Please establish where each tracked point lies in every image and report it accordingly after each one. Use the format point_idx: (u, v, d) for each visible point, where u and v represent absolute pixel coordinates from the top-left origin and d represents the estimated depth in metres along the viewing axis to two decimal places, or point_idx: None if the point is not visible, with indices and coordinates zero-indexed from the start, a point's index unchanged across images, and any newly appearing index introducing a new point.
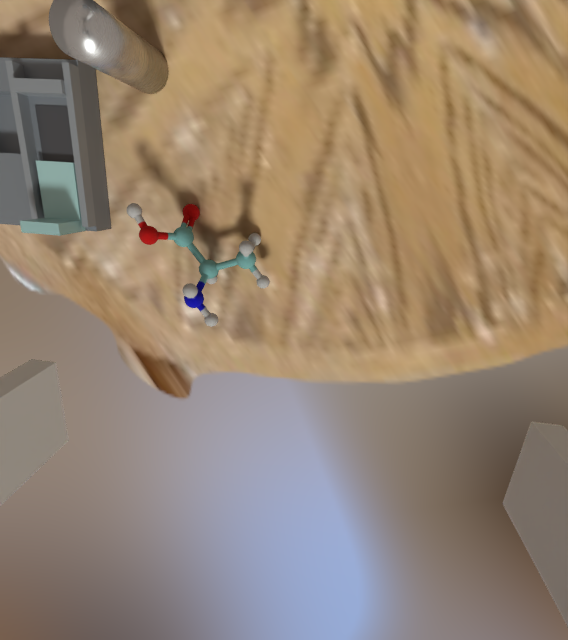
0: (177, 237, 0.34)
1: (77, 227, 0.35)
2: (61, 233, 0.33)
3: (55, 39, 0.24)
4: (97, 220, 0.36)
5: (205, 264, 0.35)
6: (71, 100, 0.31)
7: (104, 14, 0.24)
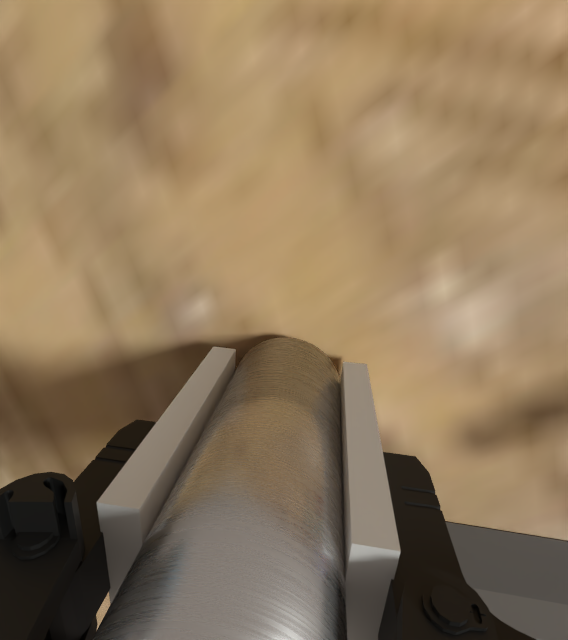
0: None
1: None
2: None
3: None
4: None
5: None
6: None
7: None
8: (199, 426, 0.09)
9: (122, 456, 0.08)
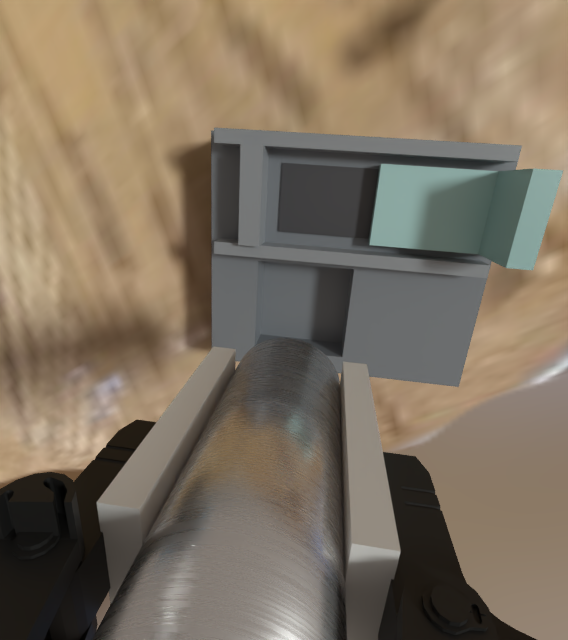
0: None
1: None
2: None
3: None
4: None
5: None
6: (274, 135, 0.16)
7: None
8: (199, 426, 0.09)
9: (122, 456, 0.08)
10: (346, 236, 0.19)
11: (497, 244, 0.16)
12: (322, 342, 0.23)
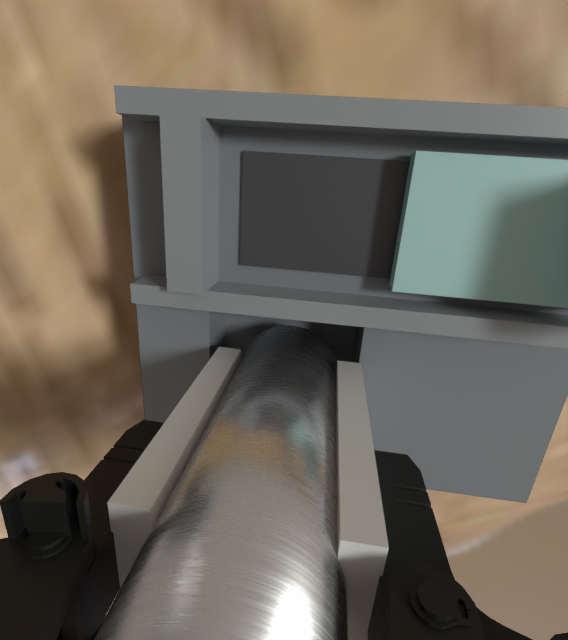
0: None
1: None
2: None
3: None
4: None
5: None
6: (221, 98, 0.09)
7: (153, 597, 0.05)
8: None
9: (130, 456, 0.08)
10: (352, 274, 0.11)
11: None
12: None
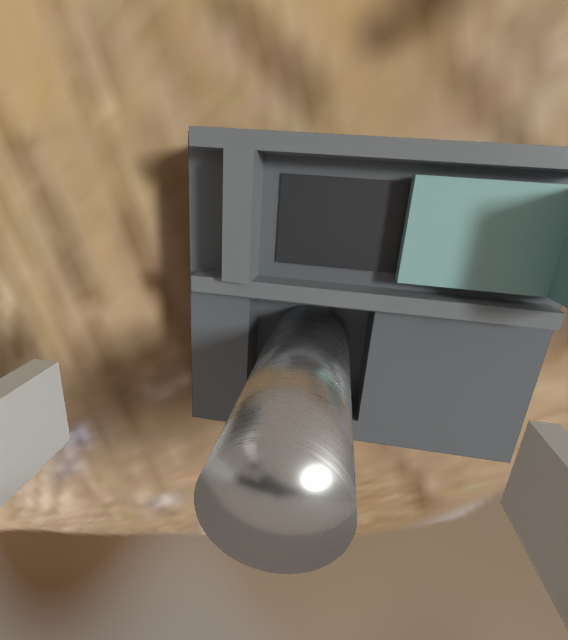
0: None
1: None
2: None
3: (301, 567, 0.09)
4: None
5: None
6: (269, 136, 0.12)
7: (245, 426, 0.08)
8: None
9: None
10: (365, 269, 0.14)
11: None
12: None
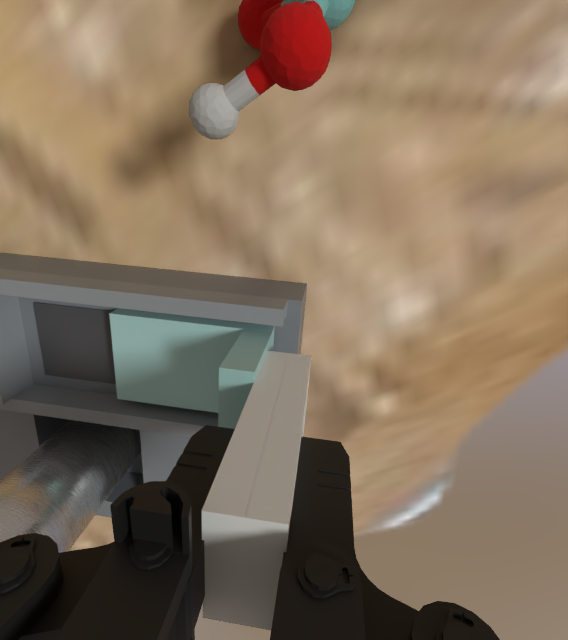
0: None
1: (257, 336, 0.13)
2: (251, 367, 0.10)
3: None
4: (275, 295, 0.14)
5: None
6: None
7: None
8: None
9: (202, 462, 0.08)
10: None
11: None
12: (139, 477, 0.19)
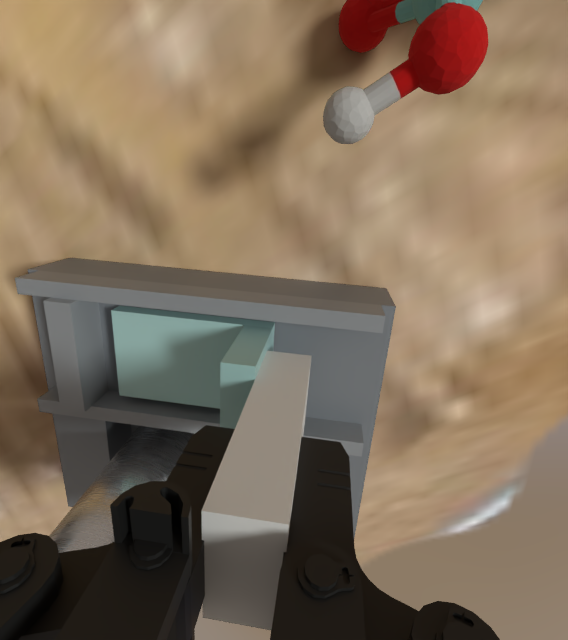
0: None
1: (257, 332, 0.13)
2: (252, 362, 0.11)
3: None
4: (365, 300, 0.14)
5: None
6: (86, 289, 0.13)
7: None
8: None
9: (202, 462, 0.08)
10: None
11: None
12: None
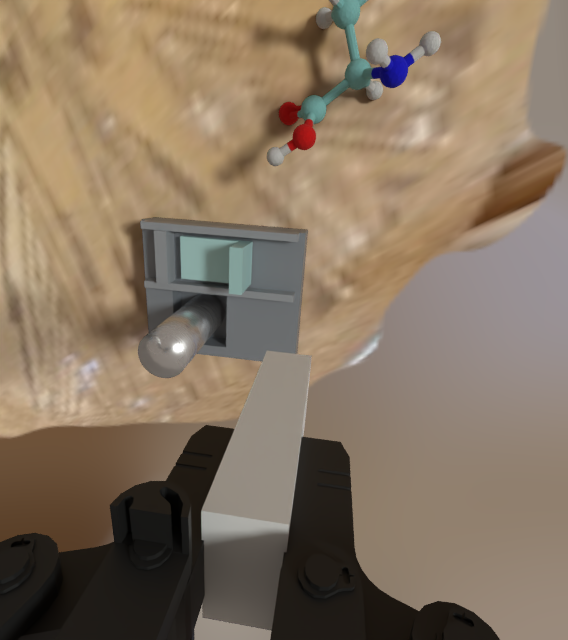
0: (312, 110, 0.26)
1: (244, 242, 0.30)
2: (241, 247, 0.28)
3: (173, 376, 0.27)
4: (294, 231, 0.31)
5: (349, 72, 0.26)
6: (172, 226, 0.30)
7: (154, 330, 0.27)
8: None
9: (201, 462, 0.08)
10: None
11: None
12: (219, 338, 0.37)
